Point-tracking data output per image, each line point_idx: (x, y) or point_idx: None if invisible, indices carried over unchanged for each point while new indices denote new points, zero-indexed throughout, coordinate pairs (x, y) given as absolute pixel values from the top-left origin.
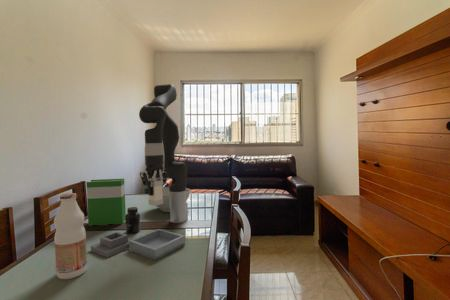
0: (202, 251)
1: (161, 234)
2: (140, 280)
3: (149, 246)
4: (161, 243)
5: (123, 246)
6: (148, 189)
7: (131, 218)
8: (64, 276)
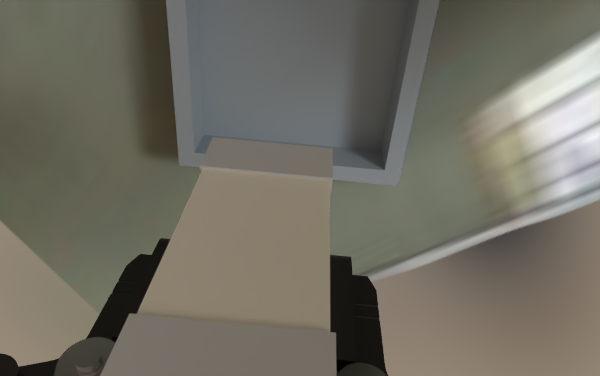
0: (360, 256)
1: None
2: (64, 193)
3: (188, 110)
4: (327, 59)
5: None
6: (104, 319)
7: None
8: None
